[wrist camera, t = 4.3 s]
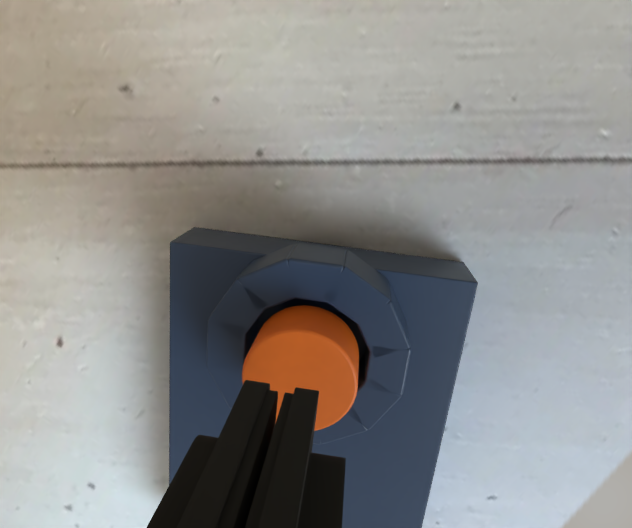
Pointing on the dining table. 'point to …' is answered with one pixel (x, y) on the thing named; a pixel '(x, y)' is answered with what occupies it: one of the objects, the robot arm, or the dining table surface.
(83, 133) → the dining table surface
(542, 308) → the dining table surface
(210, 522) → the robot arm
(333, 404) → the power button
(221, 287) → the button base
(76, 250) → the dining table surface
